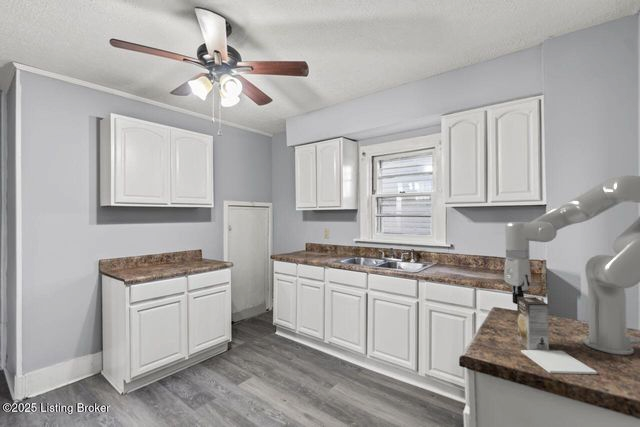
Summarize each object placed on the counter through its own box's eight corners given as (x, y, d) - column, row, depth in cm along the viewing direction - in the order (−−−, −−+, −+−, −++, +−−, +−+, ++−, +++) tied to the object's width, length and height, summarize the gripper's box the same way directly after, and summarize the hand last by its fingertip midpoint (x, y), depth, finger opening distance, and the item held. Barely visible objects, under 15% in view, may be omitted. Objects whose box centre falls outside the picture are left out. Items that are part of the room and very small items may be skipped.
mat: (561, 352, 102) (561, 350, 102) (597, 374, 88) (597, 372, 88) (521, 351, 103) (521, 349, 103) (549, 373, 89) (549, 370, 89)
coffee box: (516, 340, 112) (516, 296, 112) (536, 341, 111) (535, 296, 111) (528, 350, 103) (528, 303, 103) (550, 352, 102) (549, 304, 102)
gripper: (497, 252, 123) (497, 298, 123) (518, 257, 108) (519, 309, 108) (516, 252, 123) (517, 298, 122) (540, 257, 108) (541, 309, 108)
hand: (518, 303), depth 115 cm, fingers closed
